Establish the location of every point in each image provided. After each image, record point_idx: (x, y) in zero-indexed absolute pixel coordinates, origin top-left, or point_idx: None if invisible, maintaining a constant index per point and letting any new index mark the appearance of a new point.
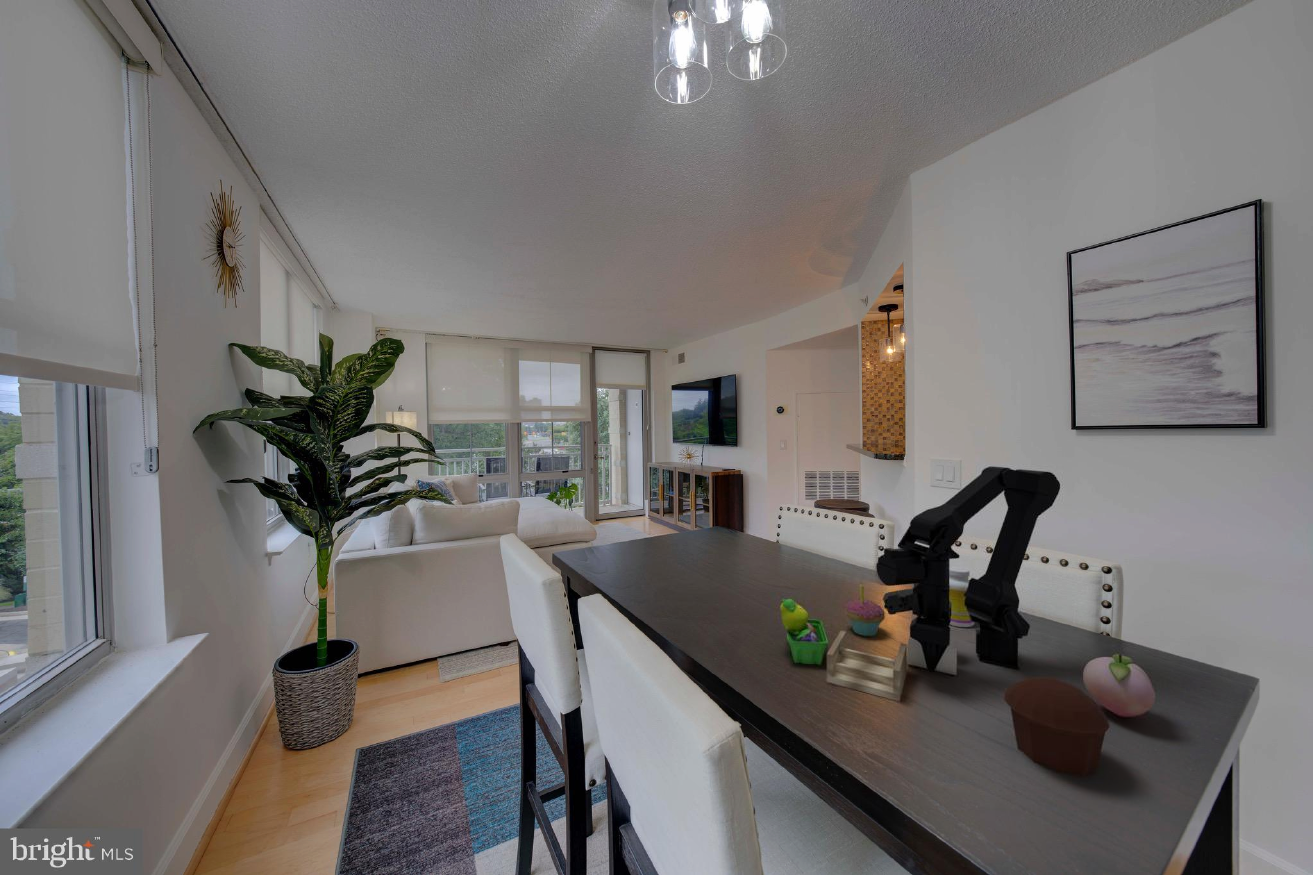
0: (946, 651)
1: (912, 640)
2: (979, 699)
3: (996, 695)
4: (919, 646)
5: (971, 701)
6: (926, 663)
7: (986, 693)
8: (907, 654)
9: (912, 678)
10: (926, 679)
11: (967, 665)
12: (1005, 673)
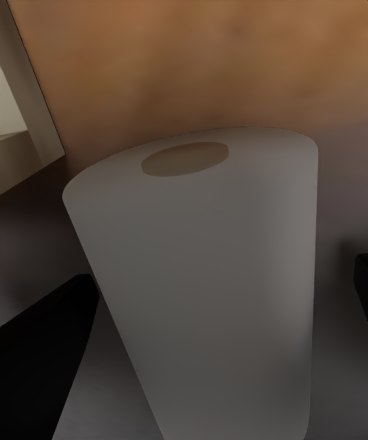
0: (165, 430)
1: (140, 259)
2: (78, 381)
3: (145, 409)
4: (109, 303)
5: None
6: (43, 299)
7: (136, 394)
8: (73, 179)
9: (17, 197)
10: (67, 248)
11: (352, 358)
12: (344, 436)
